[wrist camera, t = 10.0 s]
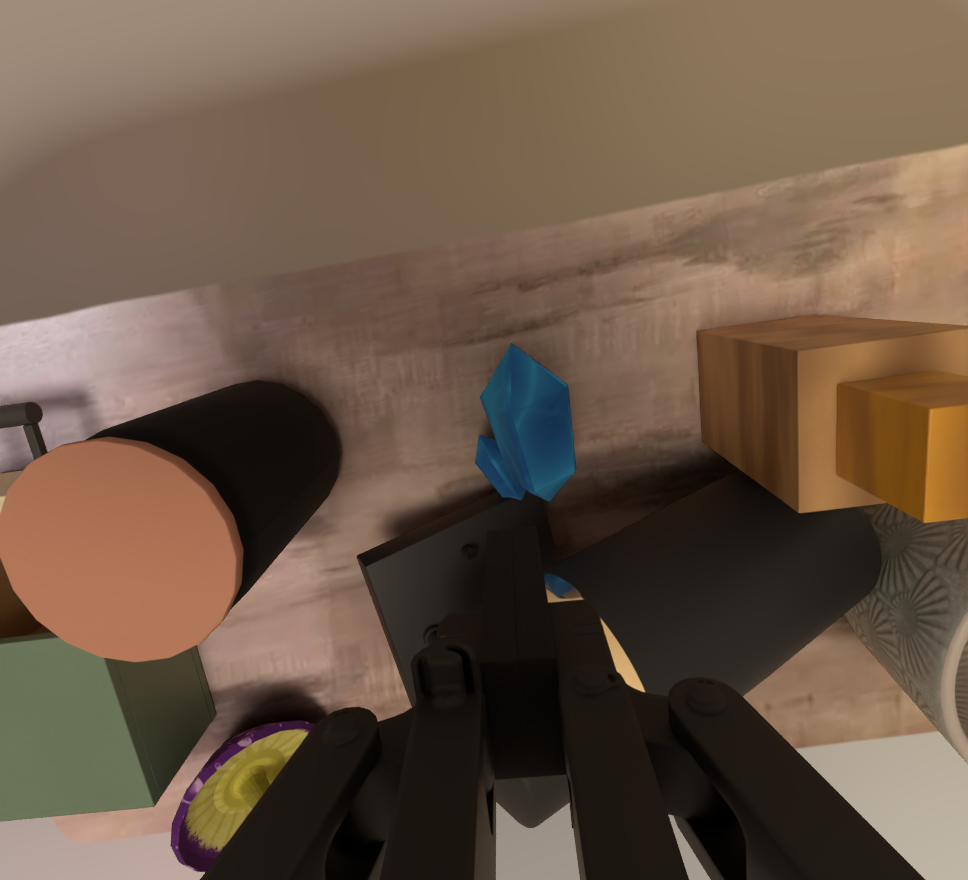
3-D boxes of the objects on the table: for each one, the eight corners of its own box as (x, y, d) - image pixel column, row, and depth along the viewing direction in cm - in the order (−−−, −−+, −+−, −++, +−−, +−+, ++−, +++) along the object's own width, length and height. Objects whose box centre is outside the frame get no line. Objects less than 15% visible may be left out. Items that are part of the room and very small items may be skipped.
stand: (702, 442, 42) (798, 514, 28) (696, 330, 40) (797, 350, 27) (815, 427, 42) (968, 494, 28) (815, 314, 40) (980, 326, 26)
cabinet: (33, 583, 46) (-77, 652, 37) (173, 567, 46) (95, 633, 37) (85, 727, 50) (-5, 822, 41) (216, 714, 49) (154, 807, 40)
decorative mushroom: (206, 893, 32) (134, 723, 43) (226, 1023, 37) (157, 841, 47) (393, 769, 40) (296, 650, 51) (391, 888, 45) (302, 757, 55)
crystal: (474, 540, 38) (420, 373, 32) (502, 467, 45) (462, 320, 40) (588, 536, 35) (551, 354, 30) (599, 459, 43) (570, 302, 37)
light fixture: (894, 650, 35) (552, 938, 26) (678, 559, 51) (413, 716, 41) (878, 453, 32) (474, 700, 22) (651, 419, 47) (354, 555, 37)
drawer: (-35, 406, 42) (-143, 429, 35) (103, 386, 41) (21, 406, 34) (44, 624, 46) (-38, 684, 39) (170, 609, 45) (110, 668, 38)
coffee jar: (191, 378, 42) (-30, 440, 24) (338, 377, 41) (222, 439, 24) (209, 517, 44) (22, 662, 27) (348, 517, 44) (249, 665, 27)
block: (835, 475, 28) (924, 523, 22) (836, 383, 27) (929, 408, 21) (932, 463, 28) (1048, 509, 22) (937, 370, 27) (1060, 392, 21)
